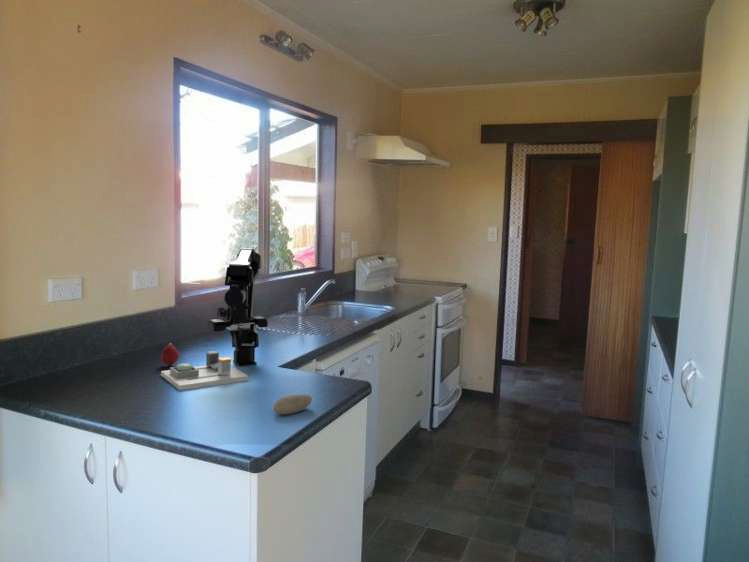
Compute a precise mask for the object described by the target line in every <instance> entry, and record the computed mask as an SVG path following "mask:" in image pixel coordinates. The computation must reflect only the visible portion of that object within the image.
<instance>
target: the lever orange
mask: <svg viewBox="0 0 749 562" xmlns="http://www.w3.org/2000/svg"><path fill="white" fill-rule="evenodd" d="M231 364H232V359H231V358H230V357H227V356H226V357H225V356H224V357H219V358H218V374H220V375H221V376H223V375H230V371H231V366H232V365H231Z"/></svg>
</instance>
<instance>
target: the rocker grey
mask: <svg viewBox="0 0 749 562" xmlns="http://www.w3.org/2000/svg"><path fill="white" fill-rule="evenodd" d="M210 366H211V367H212V368H213V369H217V368H218V362H216V363H213V364H210Z"/></svg>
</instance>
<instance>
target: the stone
mask: <svg viewBox="0 0 749 562" xmlns="http://www.w3.org/2000/svg"><path fill="white" fill-rule="evenodd" d="M312 401H313V399H312V396H311V395H309V394H306V393H301V394H292V395H287V396H283V397H281V398H278V399H277V400H276V402H274V404H273V411H274V412H275V413H276V414H278V415H291V414H295V413H298V412H301V411H303V410H305V409H306V408H308V407H309V406H310V405H311V403H312Z"/></svg>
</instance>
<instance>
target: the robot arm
mask: <svg viewBox="0 0 749 562" xmlns="http://www.w3.org/2000/svg"><path fill="white" fill-rule="evenodd" d="M262 263H263V262H262V256H261V255H260V254H259V253H258V252H256V250H255V248H252V247H242V248H239V252H238V253H237V256H236V260H235V261H231V262H230V263H229V265H228V266H226V270H225V271H226V272H225V277H224V279H225V280H224V286H228V287H229V289H228V290H227V291H226V292H225V294H224V296H223V297H224V303H226V305H227V308H225V307H223V306H222V307H217V310H216V311H217V312H216V315H217V318H218V319H217V318H216V319H215V318H213V319H209V320H208V321H207V324H206V325H207V326H206V328H207V329H208V330H211V331H212V332H223V331H227V332H229V334H230V336H231V344H232V346H231V348H234V350H233V359H232V363H234V364H236V365H237V366H248V365H250V366H251V365H256V364H257V361H256V360H255V359H256V357H255V354H256V353H255V352H256V348H259V346H260V339H259V337H260V336H259V334H258V331H257V330H256V328H257V327H259V328H268V327H269V321H268V319H267V318H266V317H264V316H260V315H257V316H256V315H255V316H254V315H253V305H254V292H255V281H256V279H257V278H258V277H259V275H260V270H262V267H263V266H262ZM220 318H222V319H220ZM256 326H257V327H256Z"/></svg>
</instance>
